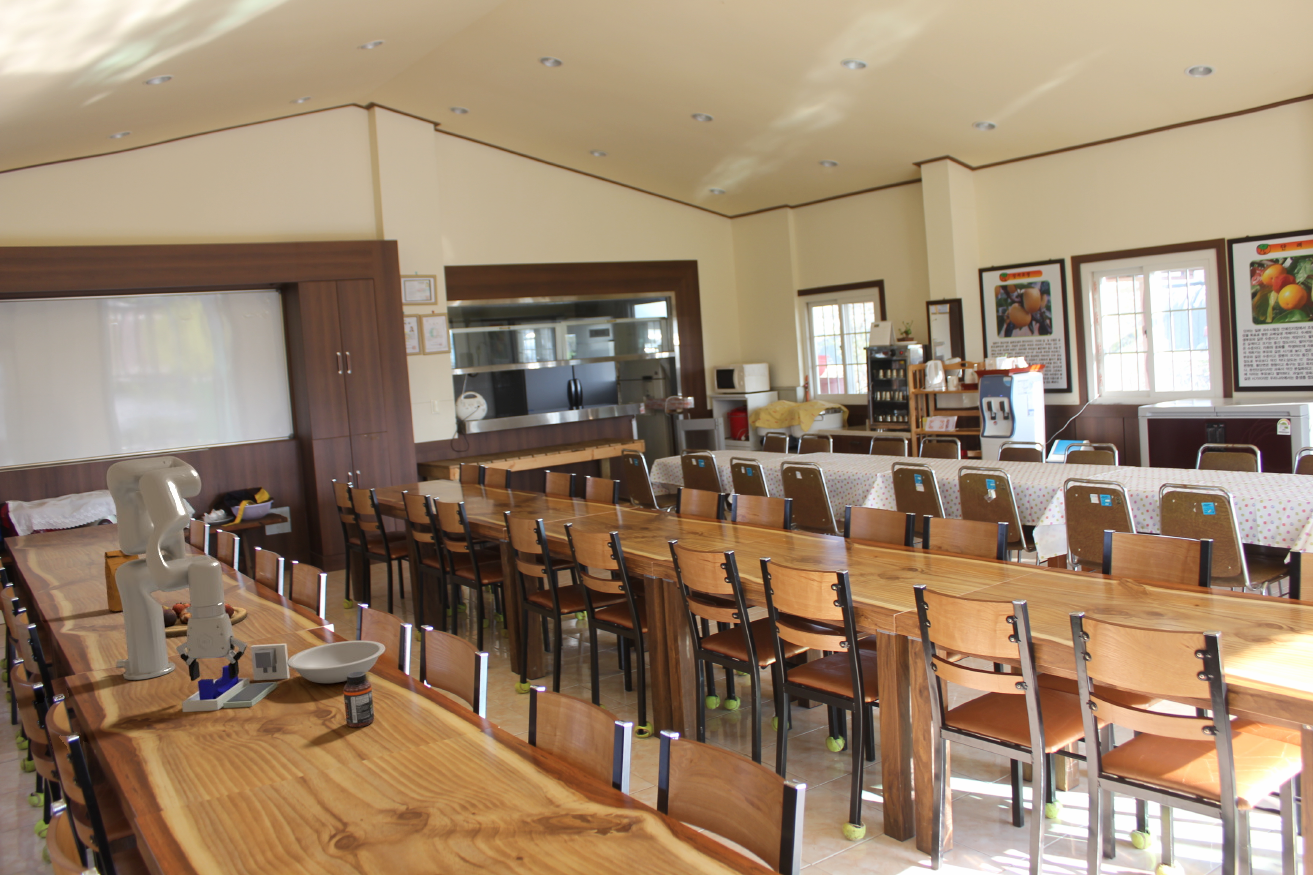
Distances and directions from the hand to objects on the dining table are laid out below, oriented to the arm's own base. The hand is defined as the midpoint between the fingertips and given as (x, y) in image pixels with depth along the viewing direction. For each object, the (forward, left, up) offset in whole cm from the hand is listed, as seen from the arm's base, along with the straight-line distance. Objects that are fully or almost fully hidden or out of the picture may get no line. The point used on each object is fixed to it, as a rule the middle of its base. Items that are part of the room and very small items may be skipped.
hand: (214, 678), depth 235 cm
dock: (0, 0, -5) cm, 5 cm away
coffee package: (-86, +106, -5) cm, 136 cm away
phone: (+9, 0, -5) cm, 10 cm away
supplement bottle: (+44, -22, -5) cm, 49 cm away
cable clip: (0, 0, -5) cm, 5 cm away
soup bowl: (+27, +11, -5) cm, 29 cm away
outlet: (+8, +12, -5) cm, 15 cm away
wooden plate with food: (-46, +78, -6) cm, 91 cm away
